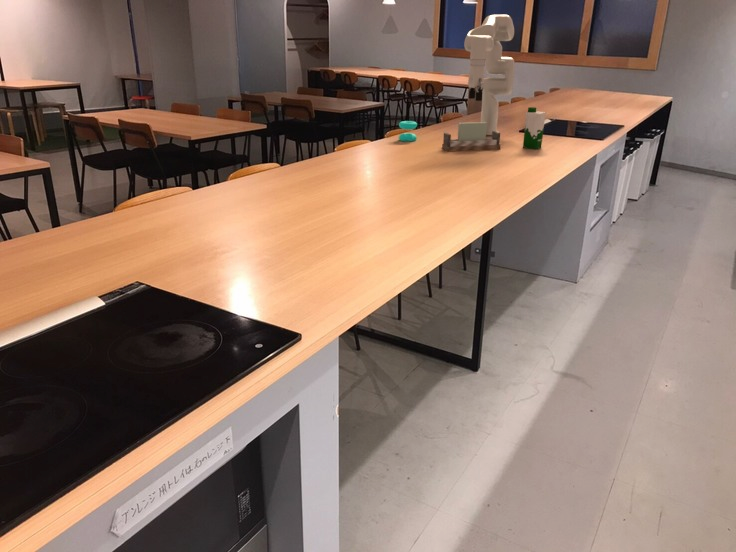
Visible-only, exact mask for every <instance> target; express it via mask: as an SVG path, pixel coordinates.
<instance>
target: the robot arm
mask: <svg viewBox="0 0 736 552" xmlns="http://www.w3.org/2000/svg"><path fill="white" fill-rule="evenodd" d="M514 36H515V26H514V23H513V18H512V17H511V16H510V15H508V14H491V15H487V16H486V17H485V18H484V20H483V22H482V24H481V25H480V26H477V27H476V28H473V29H471V30H469V31H468V32H467V35H466V37H465V38H464V44H463V46H464V50H465V51H466V52H469V53H470V57H469V60H470V61H469V71H468V79H467V80H468V81H467V86H468V99H475V101H476V102H481V112H480V113H481V114H480V122H486V123H487V128H486V136H492V131H497V132H499V130H497V127H498V116H499V103H500V102H499V100H498V98H497V97H496V96H510V95H511V94H512V92H513V89H514V78H515V76H514V75H515V67H516V65H515V59H514V58H513V57H511V56H510V57H509V56H503V55H502V54H503V46H502V44H501V42H510V41H512V40H513V39H514ZM485 72H486V74H487V75H491V76H489V77H485ZM493 75H494V76H493ZM497 75H498V76H497ZM496 76H497V77H496ZM499 76H504V77H499Z"/></svg>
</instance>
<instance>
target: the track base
mask: <svg viewBox="0 0 736 552" xmlns="http://www.w3.org/2000/svg"><path fill="white" fill-rule="evenodd" d="M497 131H498V130H496V131H492V135H491V137H486V140H473V141H458V138H453V139H452V135H451V134H450V133H449V132H443V140H442V141H443V143H442V145H441V148H442V149H443V148H444V149H443V150H445V151H447V152H465V151H466V152H467V151H490V150H491V151H492V150H493V151H494V150H501V144H500V143H501V142H500V140H501V132H499V131H498V132H497Z"/></svg>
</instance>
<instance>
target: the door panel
mask: <svg viewBox="0 0 736 552" xmlns="http://www.w3.org/2000/svg"><path fill="white" fill-rule="evenodd" d="M457 127H458V129H457V131H458V132H457V139H458V141H473V140H486V138H487V135H486V128H487V123H486V122H481V121H477V122H476V121H475V122H473V121H472V122H469V121H468V122H467V121H466V122H458V126H457Z"/></svg>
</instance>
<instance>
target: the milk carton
mask: <svg viewBox="0 0 736 552" xmlns="http://www.w3.org/2000/svg"><path fill="white" fill-rule="evenodd" d="M546 114H547V112H545V111H540V110H539V111H537V107H534V106H533V107H532V106H530V107H528V108H527V111H526V112H525V123H524V134H523V143H522V148H523V149H529V150H538V149H541V148H542V144H543V135H544V130H545V128H544V127H545V121H546V116H547V115H546Z"/></svg>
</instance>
